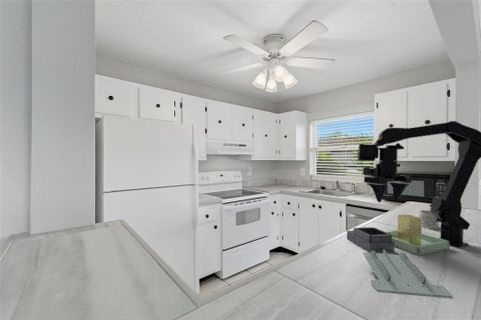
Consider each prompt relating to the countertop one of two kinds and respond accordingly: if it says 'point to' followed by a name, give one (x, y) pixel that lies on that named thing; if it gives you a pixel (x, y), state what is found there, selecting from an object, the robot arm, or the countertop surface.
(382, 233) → the dark grey stepped fixture
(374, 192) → the robot arm
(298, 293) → the countertop surface
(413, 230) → the tan note paper block
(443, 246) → the parts tray
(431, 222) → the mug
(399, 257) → the metal bracket
